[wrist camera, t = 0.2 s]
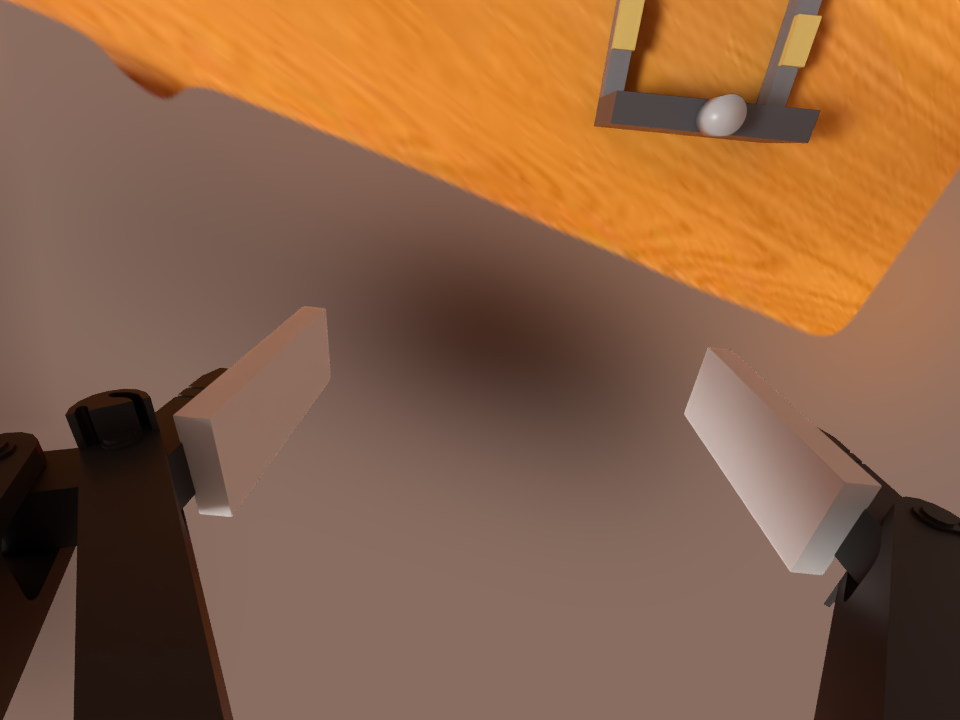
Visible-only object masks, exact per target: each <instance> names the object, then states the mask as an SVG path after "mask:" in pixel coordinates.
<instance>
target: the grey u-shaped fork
mask: <svg viewBox="0 0 960 720" xmlns="http://www.w3.org/2000/svg"><path fill="white" fill-rule="evenodd" d="M644 2H645V0H617V3H616V8H615V14H614V19H613V25H612V30H611V36H610V41H609V47H608V52H607V58H606V63H605V69H604V74H603V80H602V85H601V91H600V97H599V102H598V108H597V113H596V119H595V124H594V126H597V127H607V128H618V129H628V130H638V131H648V132H658V133H668V134H678V135H689V136H699V137H709V138H719V139H729V140H739V141H749V142H760V143H808V142H809V139H810V137H811V134H812V131H813V129H814V126H815V124H816V121H817V118H818V116H819V113H820V110H811V109H801V108H791V107H785V106H786V103H787V100H788V97H789V94H790V91H791V88H792V86H793V83H794V80H795V77H796V74H797V71H798V68H802V67H804V66H805V63H806V61H807V58H808V55H809V52H810V49H811V46H812V44H813V41H814V38H815V35H816V32H817V29H818V27H819V24H820V21H821V18H822V16H817V14H818V11H819V8H820V5H821V2H822V0H790V1H789V4H788V7H787V10H786V13H785V17H784V20H783V23H782V26H781V29H780V32H779V35H778V38H777V41H776V44H775V48H774V51H773V54H772V57H771V60H770V63H769V66H768V69H767V72H766V76H765V79H764V82H763V85H762V88H761V91H760V94H759V97H758V100H757V103H756V104H750V103H745V101H744V99H743V98H742V97H740V96H739V95H736V94H728V95H723V96H719V97H714V98H711V99H700V98H690V97H680V96H669V95H659V94H649V93H639V92H629V91H624V88H625V83H626V78H627V73H628V68H629V63H630V58H631V53H632V52H633V51H634V50H635V46H636V41H637V36H638V31H639V26H640V22H641V17H642V12H643V7H644Z"/></svg>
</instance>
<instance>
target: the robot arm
mask: <svg viewBox="0 0 960 720" xmlns="http://www.w3.org/2000/svg"><path fill="white" fill-rule="evenodd" d="M330 379H331V376H330V362H329V348H328V333H327V320H326V309H325V308H317V307H307V306H303V307H302V308H300V309H299V310H298V311H297V312H296V313H294V314H293V315H292V316H291V317H290V318H289V319H287V320H286V321H285V322H284V323H283V324H281V325H280V326H279V327H278V328H277V329H275V330H274V331H273V332H272V333H271V334H269V335H268V336H267V337H266V338H265V339H264V340H262V341H261V342H260V343H259V344H258V345H256V346H255V347H254V348H253V349H252V350H251V351H249V352H248V353H247V354H246V355H244V356H243V357H242V358H241V359H240V360H239V361H237V362H236V363H235V364H234V365H232V366H231V367H230V368H229V369H226V368H219V369H217V370H215V371H212V372H210V373H208V374H205V375H203V376H201V377H200V378H199V379H197V380H196V381H195V382H193V383H192V384H191V385H190V386H189V388H186V389H185V390H183V391H182V392H181V393H179V394H178V397H175V398H173V399H172V400H171V401H169V402H168V403H167V404H166V405H164V406H163V407H162V408H160V409H159V410H158V411H157V412H154V408H153V405H152V402H151V398H150V396H149V395H148V394H147V393H146V392H144V391H140V390H137V389H120V390H112V391H106V392H103V393H99V394H95V395H92V396H90V397H87V398H85V399H83V400H81V401H79V402H77V403H76V404H75V405H73V406H72V407H70V408H69V410H68V412H67V413H66V415H65V416H66V418H67V421H68V423H69V426H70V428H71V431H72V433H73V436H74V438H75V441H76V443H77V446H78V448H73V449H64V450H53V451H43V450H42V448H41V446H40V444H39V441H38V439H37V438H36V437H35V436H34V435H33V434H28V433H23V432H15V433H3V434H0V720H3V718H4V716H5V713H6V711H7V708H8V706H9V703H10V701H11V699H12V697H13V694H14V692H15V689H16V687H17V685H18V682H19V680H20V678H21V675H22V673H23V670H24V668H25V666H26V663H27V661H28V659H29V656H30V654H31V652H32V649H33V647H34V644H35V642H36V639H37V637H38V634H39V633H40V630H41V628H42V625H43V623H44V621H45V618H46V616H47V613H48V611H49V609H50V606H51V604H52V602H53V599H54V597H55V594H56V592H57V589H58V587H59V585H60V583H61V580H62V578H63V576H64V573H65V571H66V568H67V566H68V564H69V561H70V559H71V557H72V554H73V552H74V549H75V547H76V546H77V587H76V632H75V633H76V634H75V681H74V720H233V716H232V713H231V708H230V704H229V700H228V695H227V691H226V687H225V682H224V678H223V674H222V670H221V666H220V661H219V657H218V653H217V649H216V645H215V640H214V636H213V632H212V628H211V623H210V619H209V615H208V611H207V607H206V603H205V598H204V594H203V589H202V585H201V581H200V577H199V572H198V568H197V564H196V560H195V556H194V551H193V547H192V543H191V539H190V534H189V530H188V526H187V522H186V518H185V514H184V511H183V507H184V506H185V505H186V504H187V503H188V502H189V500H190V499H191V498H192V497H193V496H194V495H195V499H196V503H197V506H198V510H199V514H208V515H217V516H228V517H232V516H233V515H234V514H235V512H236V511H237V510H238V508H239V507H240V505H241V504H242V502H243V501H244V500H245V498H246V497H247V495H248V494H249V493H250V491H251V490H252V488H253V487H254V486H255V484H256V483H257V481H258V480H259V479H260V477H261V476H262V474H263V473H264V472H265V470H266V469H267V467H268V466H269V465H270V463H271V462H272V460H273V459H274V457H275V456H276V455H277V453H278V452H279V450H280V449H281V448H282V446H283V445H284V444H285V442H286V441H287V439H288V438H289V437H290V435H291V434H292V432H293V431H294V429H295V428H296V427H297V425H298V424H299V422H300V421H301V420H302V418H303V417H304V416H305V414H306V413H307V411H308V410H309V408H310V407H311V406H312V404H313V403H314V401H315V400H316V399H317V397H318V396H319V395H320V393H321V392H322V390H323V389H324V387H325V386H326V385H327V383H328V382H329V381H330ZM684 415H685V416H686V418H687V419H688V421H689V422H690V423H691V425H692V427H693V428H694V430H695V431H696V432H697V434H698V436H699V437H700V439H701V440H702V441H703V443H704V445H705V446H706V447H707V449H708V450H709V452H710V453H711V455H712V456H713V458H714V459H715V461H716V462H717V464H718V465H719V467H720V468H721V470H722V471H723V473H724V474H725V476H726V477H727V479H728V480H729V482H730V483H731V485H732V486H733V488H734V489H735V491H736V492H737V493H738V495H739V496H740V498H741V500H742V501H743V502H744V504H745V505H746V507H747V508H748V510H749V511H750V513H751V514H752V516H753V517H754V519H755V520H756V522H757V523H758V525H759V526H760V528H761V529H762V531H763V532H764V534H765V535H766V537H767V538H768V540H769V541H770V543H771V544H772V546H773V547H774V549H775V550H776V551H777V553H778V554H779V556H780V557H781V559H782V560H783V562H784V563H785V565H786V566H787V568H788V569H789V571H790V572H795V573H805V574H815V575H823V574H824V573H825V571H826V569H827V568H828V566H829V565H830V564H831V562H832V560H833V559H834V557H836V558H837V559H838V560H839V562H840V563H841V564H842V565H843V567H844V568H845V569H846V570H847V571H846V573H845V574H844V576H843V577H842V579H841V580H840V581H839V583H838V584H837V586H836V587H835V589H834V590H833V592H832V593H831V594H830V596H829V597H828V599H827V600H826V601H825V603H824V604H825V605H826V606H828V607H830V606H831V605H832V604H833V602H835V606H834V611H833V617H832V623H831V628H830V634H829V639H828V645H827V650H826V656H825V661H824V667H823V672H822V678H821V683H820V689H819V694H818V700H817V705H816V711H815V717H814V720H960V518H959V517H957V516H956V515H954V514H952V513H951V512H949V511H947V510H945V509H943V508H941V507H939V506H937V505H935V504H933V503H929V502H926V501H924V500H921V499H917V498H911V497H902V496H900V495H899V494H898V493H897V492H896V491H895V490H894V489H892V488H891V487H890V486H889V485H888V484H887V483H886V482H884V481H883V480H882V479H881V478H880V477H879V476H878V475H877V474H876V473H874V472H873V471H872V470H871V469H870V468H869V467H868V466H866V465H865V464H862V461H861V460H860V459H859V458H857V457H856V456H855V455H854V454H852V453H850V450H848V449H847V448H846V447H845V446H844V445H843V444H841V442H839V441H838V440H837V439H836V438H835V437H833V436H831V435H830V434H828V433H826V432H824V431H823V430H821V429H819V428H818V427H816V426H815V425H814V424H813V423H812V422H810V421H809V420H808V419H807V418H806V417H805V416H804V415H803V414H802V413H801V412H800V411H798V410H797V409H796V408H795V407H794V406H793V405H792V404H791V403H789V402H788V401H787V400H786V399H785V398H784V397H783V396H782V395H781V394H780V393H778V392H777V391H776V390H775V389H774V388H773V387H772V386H771V385H770V384H769V383H767V382H766V381H765V380H764V379H763V378H762V377H761V376H760V375H759V374H757V373H756V372H755V371H754V370H753V369H752V368H751V367H750V366H749V365H748V364H746V363H745V362H744V361H743V360H742V359H741V358H740V357H738V355H736V354H735V353H734V352H733V351H732V350H731V349H724V348H714V347H708V349H707V352H706V354H705V357H704V360H703V363H702V366H701V368H700V371H699V374H698V377H697V379H696V382H695V385H694V388H693V391H692V393H691V396H690V399H689V402H688V404H687V407H686V410H685V413H684Z"/></svg>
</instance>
